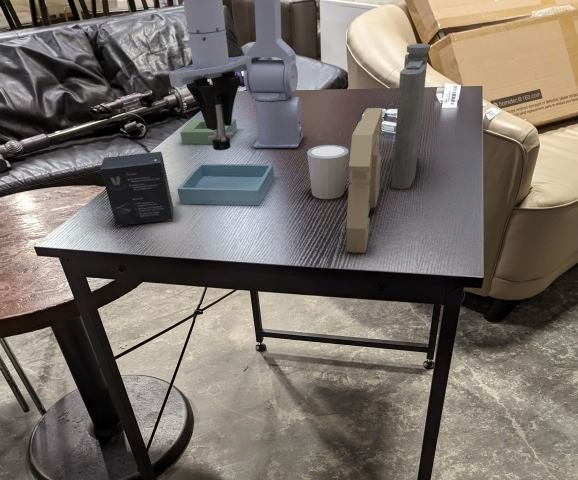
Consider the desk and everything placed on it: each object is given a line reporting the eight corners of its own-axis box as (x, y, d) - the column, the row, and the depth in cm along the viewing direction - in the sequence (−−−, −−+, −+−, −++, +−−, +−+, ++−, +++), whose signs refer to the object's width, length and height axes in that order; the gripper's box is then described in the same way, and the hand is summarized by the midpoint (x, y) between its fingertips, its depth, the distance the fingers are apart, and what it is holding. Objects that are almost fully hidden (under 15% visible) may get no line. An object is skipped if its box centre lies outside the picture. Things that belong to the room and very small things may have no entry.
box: (174, 207, 90) (162, 150, 84) (173, 221, 86) (161, 161, 80) (119, 214, 89) (103, 156, 83) (116, 227, 85) (98, 168, 79)
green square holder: (237, 130, 122) (235, 118, 120) (225, 144, 115) (223, 132, 113) (196, 130, 124) (194, 118, 122) (182, 144, 116) (180, 132, 115)
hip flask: (397, 157, 102) (407, 36, 89) (418, 158, 102) (431, 35, 88) (390, 189, 91) (401, 54, 78) (414, 189, 90) (429, 54, 77)
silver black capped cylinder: (230, 142, 93) (223, 91, 88) (237, 149, 90) (231, 97, 85) (207, 146, 92) (199, 95, 87) (213, 153, 89) (205, 101, 84)
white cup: (308, 186, 94) (307, 145, 89) (346, 184, 94) (347, 143, 89) (308, 201, 89) (306, 158, 84) (348, 199, 88) (349, 156, 84)
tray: (274, 178, 98) (273, 164, 96) (259, 205, 89) (257, 190, 87) (201, 177, 100) (199, 163, 98) (179, 203, 91) (177, 188, 89)
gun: (366, 257, 73) (373, 140, 64) (343, 256, 73) (346, 140, 65) (379, 202, 92) (385, 106, 83) (360, 201, 93) (364, 106, 84)
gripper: (229, 22, 85) (239, 113, 94) (151, 35, 79) (170, 132, 88) (256, 25, 81) (263, 119, 90) (176, 39, 74) (193, 140, 83)
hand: (219, 126), depth 89 cm, fingers closed on silver black capped cylinder, 2 cm apart
